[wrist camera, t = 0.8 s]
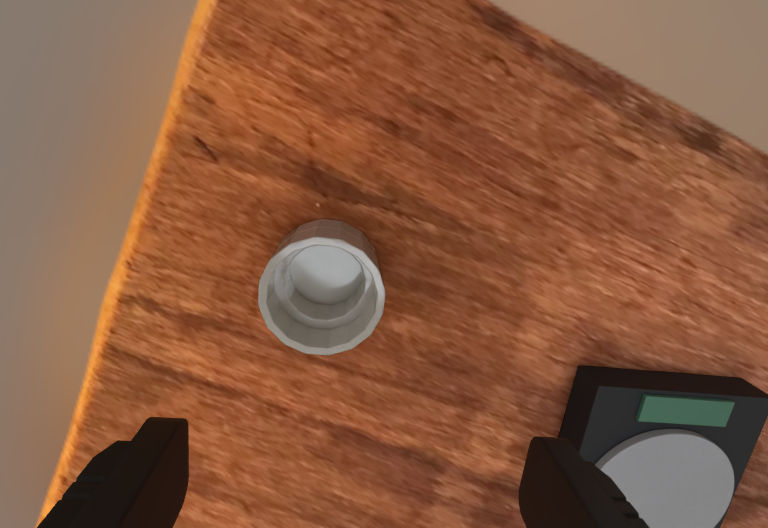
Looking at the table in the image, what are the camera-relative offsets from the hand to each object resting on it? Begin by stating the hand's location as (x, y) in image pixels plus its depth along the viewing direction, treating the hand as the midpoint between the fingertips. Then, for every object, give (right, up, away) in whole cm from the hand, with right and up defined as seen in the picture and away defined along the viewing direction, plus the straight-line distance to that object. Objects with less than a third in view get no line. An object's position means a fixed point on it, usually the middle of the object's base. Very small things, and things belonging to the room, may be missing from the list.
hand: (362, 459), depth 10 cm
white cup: (-3, +4, +15) cm, 16 cm away
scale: (+18, -9, +21) cm, 30 cm away
